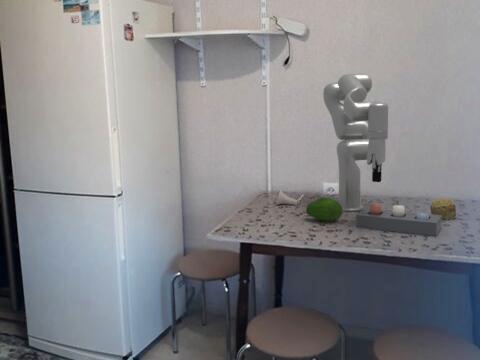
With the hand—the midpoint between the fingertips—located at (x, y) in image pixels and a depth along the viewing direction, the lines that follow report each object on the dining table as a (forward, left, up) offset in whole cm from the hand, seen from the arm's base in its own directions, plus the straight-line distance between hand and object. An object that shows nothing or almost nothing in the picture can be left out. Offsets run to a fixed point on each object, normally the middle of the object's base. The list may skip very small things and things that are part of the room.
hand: (376, 181), depth 194 cm
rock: (+22, +22, -18) cm, 36 cm away
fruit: (-21, -2, -18) cm, 28 cm away
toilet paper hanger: (-49, +26, -19) cm, 59 cm away
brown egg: (0, 0, -14) cm, 14 cm away
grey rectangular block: (+9, 0, -18) cm, 20 cm away
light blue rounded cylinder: (+18, 0, -17) cm, 24 cm away
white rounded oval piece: (+9, 0, -14) cm, 17 cm away
